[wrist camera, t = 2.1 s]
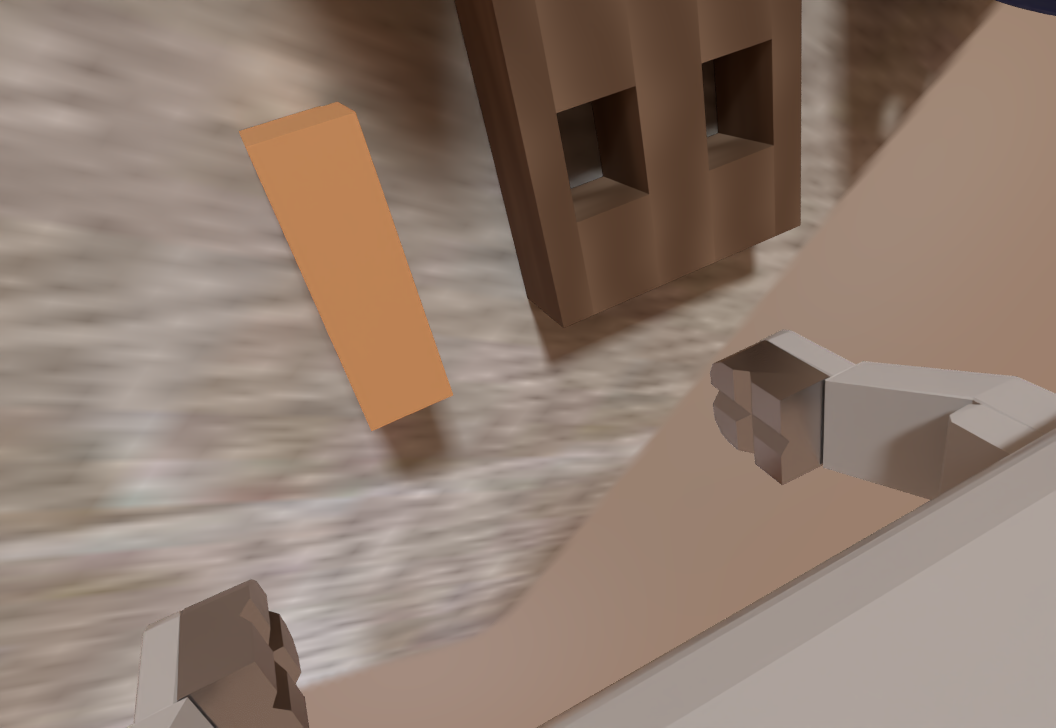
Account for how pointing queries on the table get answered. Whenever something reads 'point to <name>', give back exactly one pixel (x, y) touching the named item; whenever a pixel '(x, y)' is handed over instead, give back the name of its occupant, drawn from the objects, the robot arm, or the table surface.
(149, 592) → the table surface
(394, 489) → the table surface
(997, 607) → the robot arm
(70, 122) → the table surface
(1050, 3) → the flower pot
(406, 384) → the tan two-pronged block
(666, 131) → the block with square holes
